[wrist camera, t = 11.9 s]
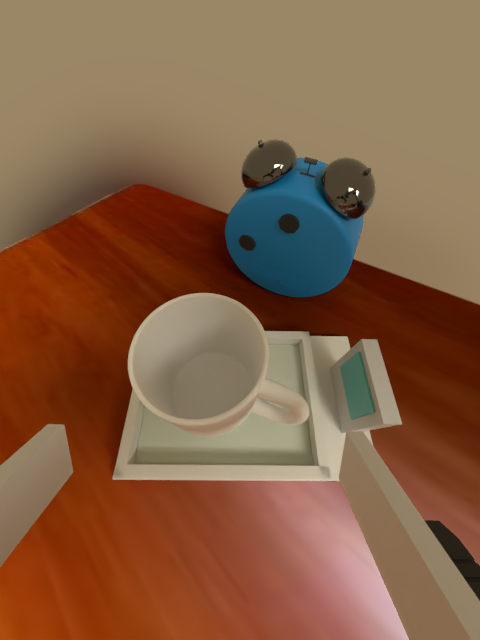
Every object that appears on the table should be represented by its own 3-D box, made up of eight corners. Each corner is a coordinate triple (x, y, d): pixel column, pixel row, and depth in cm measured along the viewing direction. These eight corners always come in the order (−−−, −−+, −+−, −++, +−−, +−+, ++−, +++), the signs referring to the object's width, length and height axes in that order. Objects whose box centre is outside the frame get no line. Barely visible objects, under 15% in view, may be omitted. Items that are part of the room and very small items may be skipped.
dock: (343, 340, 27) (381, 300, 20) (375, 480, 21) (446, 492, 14) (147, 336, 27) (117, 295, 20) (117, 478, 20) (57, 490, 13)
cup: (195, 337, 26) (176, 276, 17) (303, 384, 24) (345, 342, 15) (150, 412, 22) (95, 383, 13) (274, 476, 20) (307, 494, 11)
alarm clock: (335, 278, 32) (406, 154, 19) (322, 315, 29) (396, 198, 16) (244, 246, 34) (250, 116, 21) (224, 277, 31) (217, 149, 18)
